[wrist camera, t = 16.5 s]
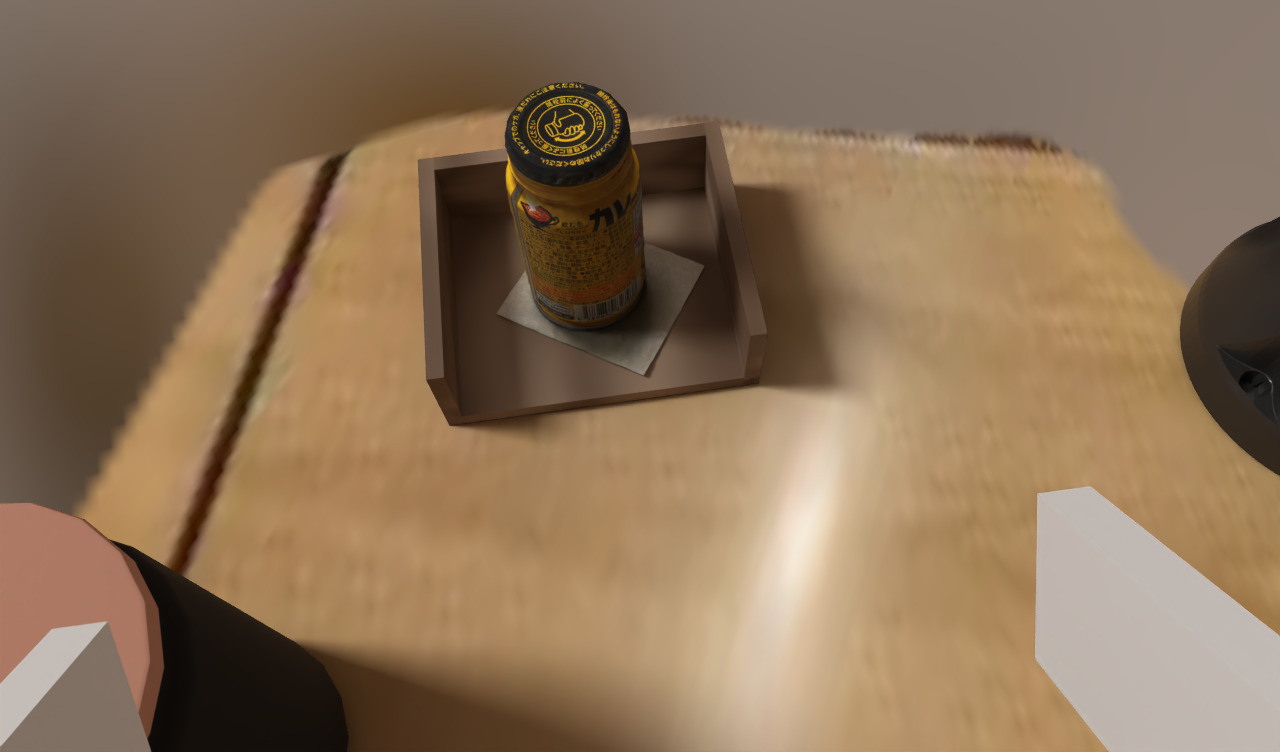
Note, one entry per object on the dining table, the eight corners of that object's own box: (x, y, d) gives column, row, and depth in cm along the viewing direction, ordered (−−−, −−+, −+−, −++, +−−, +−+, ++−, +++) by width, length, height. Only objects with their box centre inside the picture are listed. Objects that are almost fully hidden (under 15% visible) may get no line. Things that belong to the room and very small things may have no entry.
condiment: (563, 212, 52) (536, 44, 41) (704, 267, 50) (713, 105, 39) (497, 316, 49) (448, 163, 38) (643, 378, 47) (635, 236, 36)
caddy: (714, 183, 53) (718, 121, 49) (758, 382, 48) (767, 333, 43) (439, 218, 53) (417, 159, 48) (449, 425, 47) (426, 379, 43)
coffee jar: (61, 884, 38) (-380, 899, 22) (159, 620, 43) (-144, 476, 27) (314, 929, 37) (44, 978, 21) (386, 654, 42) (210, 525, 26)
